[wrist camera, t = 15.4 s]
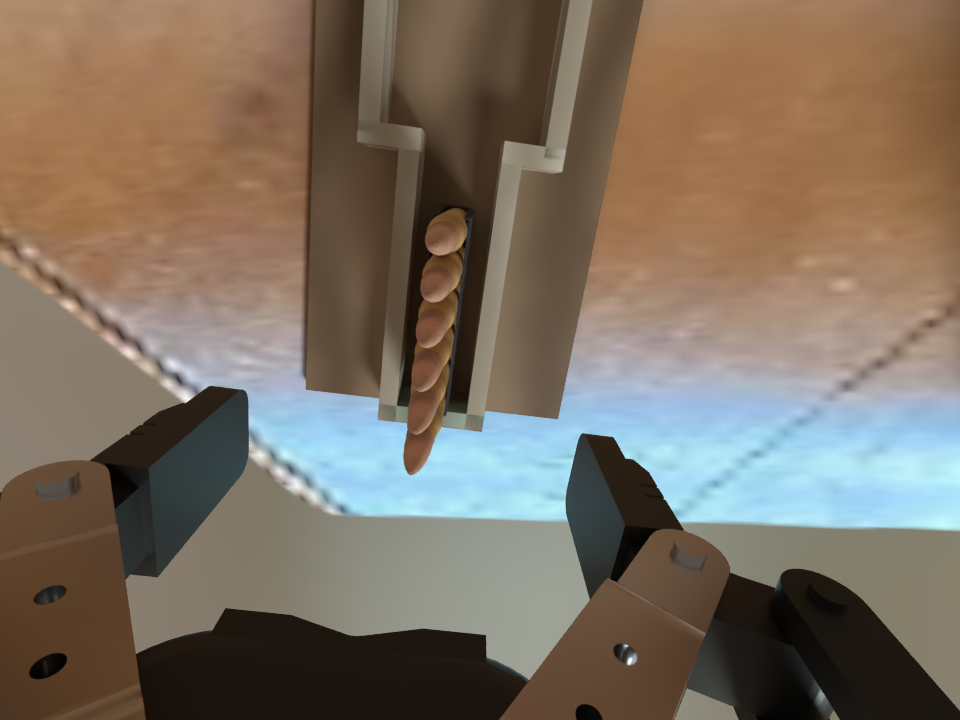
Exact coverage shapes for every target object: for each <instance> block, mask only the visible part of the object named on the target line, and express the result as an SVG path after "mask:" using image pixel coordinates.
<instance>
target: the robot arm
mask: <svg viewBox="0 0 960 720" xmlns="http://www.w3.org/2000/svg"><path fill="white" fill-rule="evenodd" d="M248 452H249V430H248V396H247V393H246V392H245V391H244V390H239V389H231V388H223V387H215V386H209V387H207V388H206V389H204V390H203V391H202V392H200V393H199V394H198V395H196V396H195V397H194V398H192V399H191V400H190V401H188V402H187V403H181V404H178V405H176V406H173V407H170V408H168V409H165V410H163V411H160V412H158V413H157V414H155V415H154V416H152V417H151V418H149V419H148V420H147V421H145V422H144V424H143V425H140V426H138V427H137V428H135V429H134V430H132V431H131V432H130V435H125V436H124V437H122V438H121V439H120V440H118V441H117V442H116V443H114V444H113V445H111V446H110V447H108V448H107V449H105V450H104V451H103V452H101V453H100V454H98V455H97V456H95V457H94V458H93V459H91V460H90V461H84V460H74V461H63V462H57V463H51V464H47V465H43V466H40V467H37V468H34V469H31V470H29V471H26V472H24V473H22V474H20V475H18V476H17V477H15V478H14V479H12V480H11V481H10V482H8V483H7V484H6V485H5V487H4V488H3V491H2V492H0V720H675V717H676V715H677V712H678V709H679V707H680V704H681V702H682V699H683V696H684V694H685V691H686V689H687V688H688V689H691V690H693V691H696V692H698V693H701V694H703V695H706V696H708V697H711V698H713V699H716V700H718V701H721V702H723V703H726V704H728V705H731V706H733V707H734V709H735V712H736V714H737V717H738V719H739V720H830V719H829V718H830V716H831V714H832V712H833V710H834V711H835V712H836V714H837V716H838V717H839V719H840V720H960V711H959V709H958V708H957V707H956V706H955V705H954V704H953V703H952V701H951V700H950V699H949V698H948V697H947V696H946V695H945V693H944V692H943V691H942V690H941V689H940V688H939V687H938V685H936V683H935V682H934V681H933V680H932V679H931V677H930V676H929V675H928V674H927V673H926V672H925V671H924V669H923V668H922V667H921V666H920V665H919V664H918V662H917V661H916V660H915V659H914V658H913V657H912V656H911V655H910V653H909V652H908V651H907V650H906V649H905V648H904V646H903V645H902V644H901V643H900V642H899V641H898V640H897V638H896V637H895V636H894V635H893V634H892V633H891V632H890V631H889V629H888V628H887V627H886V626H885V625H884V624H883V623H882V621H881V620H880V619H879V618H878V617H877V615H876V614H875V613H874V612H873V611H872V610H871V609H870V607H869V606H868V605H867V604H866V603H865V602H864V601H863V600H862V599H861V598H860V597H859V596H857V595H856V594H855V593H853V592H852V591H851V590H849V589H848V588H847V587H845V586H843V585H842V584H840V583H838V582H837V581H835V580H833V579H831V578H829V577H826V576H824V575H821V574H819V573H816V572H813V571H809V570H804V569H789V570H786V571H785V572H783V573H782V574H781V576H780V579H779V581H778V584H777V586H776V588H773V587H771V586H768V585H765V584H761V583H758V582H755V581H752V580H749V579H746V578H743V577H740V576H738V575H735V574H732V573H730V566H729V563H728V561H727V560H726V558H725V557H724V555H722V553H721V552H720V551H719V550H718V549H717V548H716V547H714V546H713V545H712V544H710V543H709V542H707V541H706V540H704V539H702V538H700V537H698V536H696V535H694V534H691V533H688V532H685V531H684V530H683V528H682V526H681V525H680V523H679V521H678V520H677V518H676V516H675V515H674V513H673V511H672V510H671V508H670V506H669V505H668V503H667V502H666V500H664V497H663V495H662V493H661V492H660V490H659V488H657V485H656V483H655V482H654V480H653V478H652V477H651V475H650V474H649V472H648V471H647V470H645V469H644V468H643V467H642V466H640V465H639V464H638V463H637V462H636V461H634V460H632V459H625V457H624V455H623V453H622V452H621V450H620V448H619V446H618V444H617V442H616V441H615V439H614V438H613V437H608V436H600V435H592V434H584V433H583V434H581V436H580V438H579V440H578V444H577V448H576V452H575V457H574V461H573V465H572V470H571V474H570V478H569V483H568V487H567V493H566V514H567V518H568V522H569V525H570V529H571V533H572V536H573V540H574V544H575V547H576V551H577V554H578V558H579V561H580V565H581V569H582V572H583V576H584V580H585V583H586V587H587V590H588V594H589V598H590V601H589V602H588V603H587V605H586V606H585V608H584V609H583V610H582V611H581V613H580V614H579V615H578V617H577V618H576V619H575V621H574V622H573V623H572V625H571V626H570V627H569V628H568V630H567V631H566V632H565V634H564V635H563V637H562V638H561V639H560V640H559V642H558V643H557V644H556V646H555V647H554V648H553V650H552V651H551V652H550V654H549V655H548V656H547V658H546V659H545V660H544V661H543V663H542V664H541V665H540V667H539V668H538V669H537V671H536V672H535V673H534V675H533V676H532V677H531V679H530V680H528V679H527V678H525V677H524V676H522V675H521V674H519V673H517V672H516V671H514V670H513V669H511V668H510V667H508V666H505V665H503V664H501V663H499V662H497V661H495V660H492V659H489V658H487V657H486V635H479V634H470V633H460V632H450V631H441V630H430V629H417V630H408V631H400V632H391V633H383V634H374V635H366V636H350V635H346V634H343V633H341V632H338V631H335V630H332V629H329V628H326V627H323V626H320V625H318V624H315V623H312V622H309V621H306V620H303V619H301V618H298V617H295V616H292V615H285V614H276V613H266V612H256V611H246V610H236V609H227V608H225V610H224V612H223V614H222V615H221V617H220V619H219V620H218V622H217V624H216V625H215V627H214V629H213V630H211V631H203V632H198V633H194V634H189V635H185V636H181V637H178V638H175V639H171V640H168V641H165V642H163V643H160V644H158V645H155V646H152V647H150V648H148V649H146V650H144V651H141V652H139V653H137V654H136V652H135V645H134V638H133V631H132V624H131V618H130V610H129V602H128V595H127V589H126V581H125V580H126V579H127V577H128V576H129V575H130V574H132V575H142V576H152V577H158V576H159V575H160V574H161V572H162V571H163V570H164V569H165V568H166V566H167V565H168V564H169V563H170V561H171V560H172V559H173V558H174V557H175V555H176V554H177V553H178V552H179V551H180V549H181V548H182V547H183V546H184V544H185V543H186V542H187V541H188V540H189V538H190V537H191V536H192V535H193V533H194V532H195V531H196V530H197V529H198V527H199V526H200V525H201V524H202V522H203V521H204V520H205V519H206V517H207V516H208V515H209V514H210V513H211V512H212V510H213V509H214V508H215V507H216V505H217V504H218V503H219V502H220V500H221V499H222V498H223V497H224V496H225V494H226V493H227V492H228V491H229V489H230V488H231V487H232V486H233V485H234V483H235V482H236V481H237V480H238V479H239V477H240V476H241V474H242V473H243V471H244V469H245V466H246V463H247V459H248Z"/></svg>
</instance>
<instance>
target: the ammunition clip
mask: <svg viewBox="0 0 960 720" xmlns="http://www.w3.org/2000/svg"><path fill="white" fill-rule="evenodd" d="M473 219H474V209H473V208H467V207H460V206H453V205H446V204H443V205H441V206H440V207H439V208H438V209H436V210H435V211H433V212H432V215H431V222H430V224H429V226H428V228H427V233H426V237H425V244H426V247H427V248H428V254H427V263H426V265H425V267H424V269H423V274H422V280H421V286H420V290H421V294H422V296H423V302H422V304H421V306H420V308H419V314H418V317H419V319H418V323H417V326H416V338H417V344H416V346H415V358H414V363H413V366H412V384H411V397H410V403H409V406H408V415H407V420H408V422H407V428H408V431H407V435H406V441H405V446H404V455H403V456H404V465H405V469H406V471H407V473H408V474H409V475H414V474H416V473H417V472H418V471H419V470H420V469H421V468H422V467H423V466H424V464H425V462H426V461H427V459H428V457H429V455H430V452H431V449H432V445H433V443H434V440H435V437H436V436H437V434H438V432H439V430H440V429H441V425H442V420H443V416H446V414H447V409H448V404H449V398H450V393H451V388H452V381H453V374H454V366H455V358H456V350H457V343H458V335H459V327H460V319H461V312H462V304H463V296H464V288H465V281H466V273H467V265H468V257H469V250H470V242H471V234H472V226H473ZM432 253H433V255H432Z"/></svg>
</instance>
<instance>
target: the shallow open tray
mask: <svg viewBox="0 0 960 720" xmlns="http://www.w3.org/2000/svg"><path fill="white" fill-rule="evenodd" d="M642 4H643V0H316V23H315V61H314V99H313V137H312V175H311V213H310V251H309V289H308V327H307V365H306V390H314V391H322V392H331V393H339V394H348V395H356V396H365V397H373V398H379V411H378V420H384V421H393V422H402V423H407V422H408V420H407V415H408V406H409V403H410V397H411V384H412V366H413V363H414V358H415V346H416V344H417V338H416V326H417V323H418V319H419V317H418V314H419V308H420V306H421V304H422V302H423V296H422V294H421V290H420V286H421V280H422V274H423V269H424V267H425V265H426V263H427V254H428V248H427V247H426V244H425V237H426V233H427V228H428V226H429V224H430V222H431V215H432V212H433V211H435V210H436V209H438V208H439V207H440V206H441V205H443V204H446V205H453V206H460V207H467V208H473V209H474V219H473V226H472V234H471V242H470V250H469V257H468V265H467V273H466V281H465V288H464V296H463V304H462V312H461V319H460V327H459V335H458V343H457V350H456V358H455V366H454V374H453V381H452V388H451V393H450V398H449V404H448V409H447V414H446V416H443V420H442V425H441V427H445V428H454V429H463V430H472V431H480V432H482V426H483V419H484V413H485V411H493V412H501V413H510V414H518V415H527V416H535V417H544V418H552V419H558V416H559V411H560V406H561V401H562V396H563V391H564V386H565V382H566V377H567V372H568V367H569V362H570V357H571V352H572V347H573V342H574V337H575V333H576V328H577V323H578V318H579V313H580V308H581V303H582V298H583V293H584V288H585V284H586V279H587V274H588V269H589V264H590V259H591V254H592V249H593V244H594V239H595V235H596V230H597V225H598V220H599V215H600V210H601V205H602V200H603V195H604V190H605V186H606V181H607V176H608V171H609V166H610V161H611V156H612V151H613V146H614V142H615V137H616V132H617V127H618V122H619V117H620V112H621V107H622V102H623V97H624V93H625V88H626V83H627V78H628V73H629V68H630V63H631V58H632V53H633V48H634V44H635V39H636V34H637V29H638V24H639V19H640V14H641V9H642ZM432 255H433V253H432Z"/></svg>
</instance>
